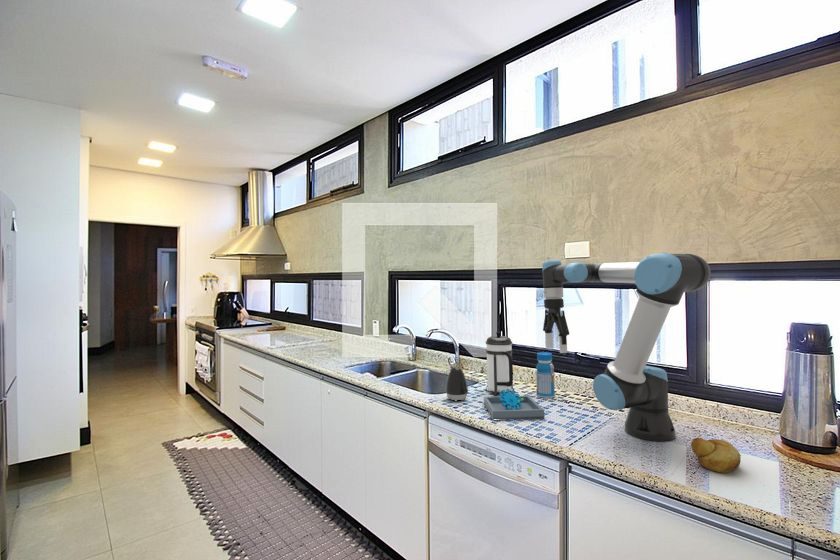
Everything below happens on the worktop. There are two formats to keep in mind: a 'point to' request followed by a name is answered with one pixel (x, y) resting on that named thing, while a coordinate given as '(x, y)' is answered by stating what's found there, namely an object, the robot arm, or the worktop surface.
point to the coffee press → (499, 363)
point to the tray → (526, 410)
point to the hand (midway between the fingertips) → (556, 350)
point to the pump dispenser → (456, 384)
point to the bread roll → (716, 454)
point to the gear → (510, 400)
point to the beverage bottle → (545, 375)
